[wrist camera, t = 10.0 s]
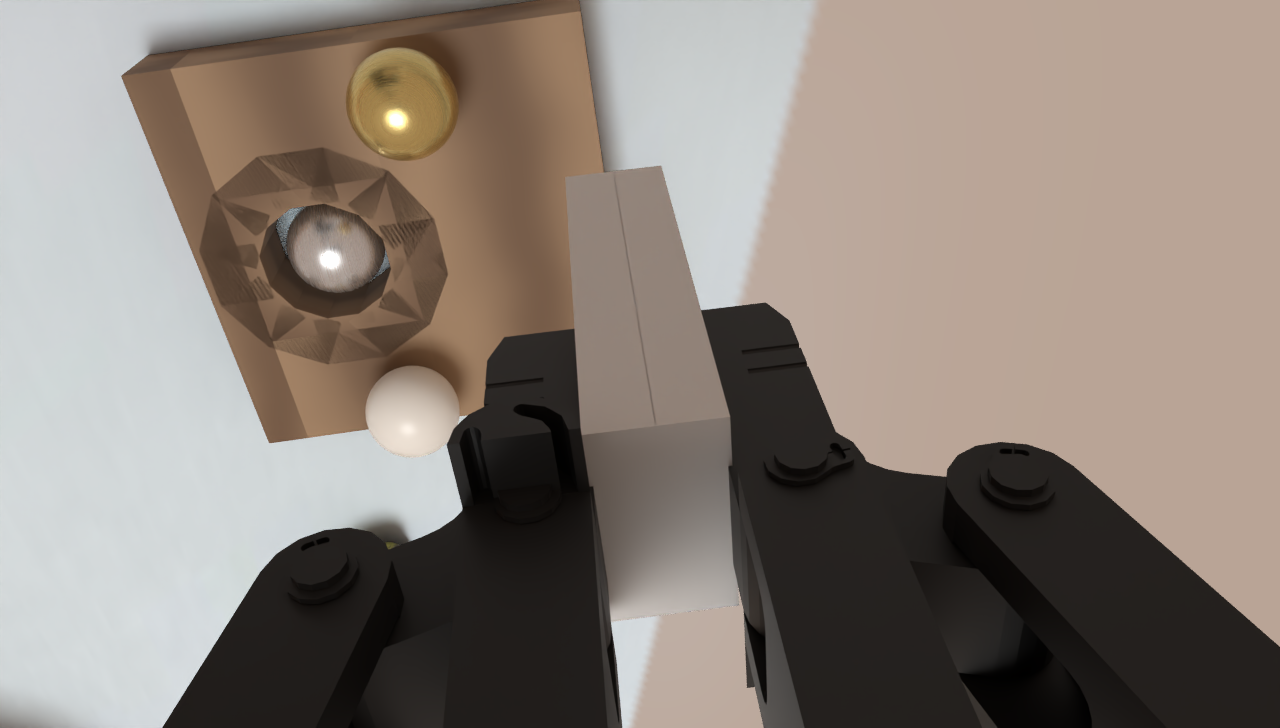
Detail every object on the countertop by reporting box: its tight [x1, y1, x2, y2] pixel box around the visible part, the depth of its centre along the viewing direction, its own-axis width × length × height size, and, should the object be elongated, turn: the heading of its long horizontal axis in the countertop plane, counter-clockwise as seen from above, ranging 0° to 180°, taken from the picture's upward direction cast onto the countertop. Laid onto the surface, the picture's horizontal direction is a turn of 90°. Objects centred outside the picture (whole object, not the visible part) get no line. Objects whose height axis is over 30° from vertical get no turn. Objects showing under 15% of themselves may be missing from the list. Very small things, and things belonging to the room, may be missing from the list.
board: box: [121, 0, 604, 443], centre depth 37 cm, size 15×15×2 cm
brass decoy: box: [346, 47, 459, 161], centre depth 31 cm, size 4×4×4 cm
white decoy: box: [365, 366, 459, 457], centre depth 38 cm, size 4×4×4 cm
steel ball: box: [286, 204, 386, 293], centre depth 36 cm, size 4×4×4 cm
